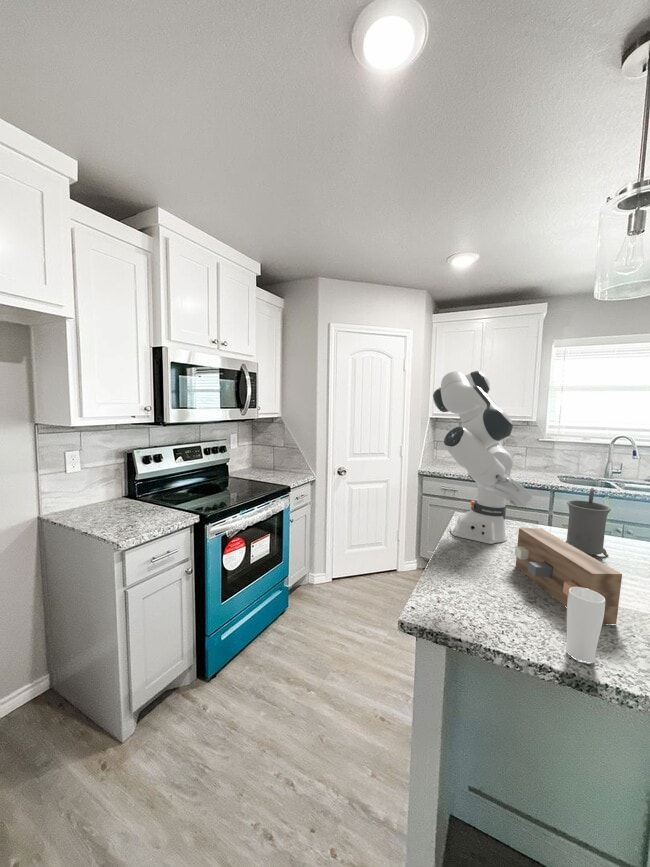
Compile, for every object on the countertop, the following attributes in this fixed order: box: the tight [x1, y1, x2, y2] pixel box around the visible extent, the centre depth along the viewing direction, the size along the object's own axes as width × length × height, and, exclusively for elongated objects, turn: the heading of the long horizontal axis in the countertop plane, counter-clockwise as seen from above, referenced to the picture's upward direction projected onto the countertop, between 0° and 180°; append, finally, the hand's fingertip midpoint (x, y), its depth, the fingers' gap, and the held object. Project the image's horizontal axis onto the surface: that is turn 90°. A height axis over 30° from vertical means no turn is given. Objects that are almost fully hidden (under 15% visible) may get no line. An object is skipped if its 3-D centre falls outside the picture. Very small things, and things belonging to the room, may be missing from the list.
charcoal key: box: [528, 562, 553, 577], centre depth 110 cm, size 6×4×3 cm, turn 92°
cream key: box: [514, 545, 529, 559], centre depth 122 cm, size 6×4×3 cm, turn 92°
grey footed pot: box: [565, 487, 612, 558], centre depth 140 cm, size 19×15×25 cm
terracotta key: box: [563, 582, 583, 596], centre depth 98 cm, size 6×4×3 cm, turn 92°
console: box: [515, 527, 623, 625], centre depth 110 cm, size 8×33×14 cm, turn 2°
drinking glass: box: [565, 587, 605, 662], centre depth 81 cm, size 7×7×15 cm
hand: (518, 504), depth 108 cm, fingers closed
